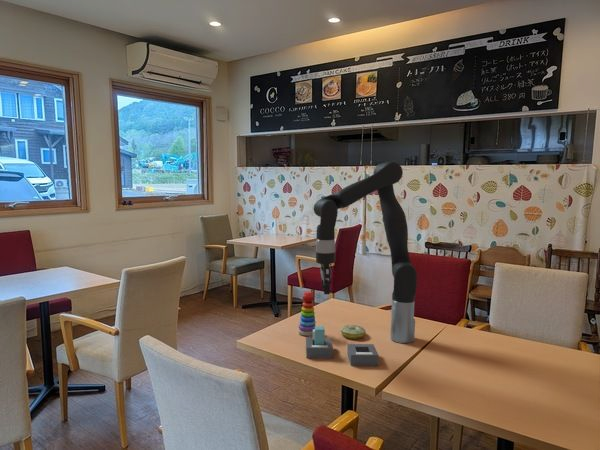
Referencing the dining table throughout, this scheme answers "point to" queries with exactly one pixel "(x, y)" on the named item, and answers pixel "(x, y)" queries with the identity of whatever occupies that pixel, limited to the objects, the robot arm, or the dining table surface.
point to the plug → (319, 335)
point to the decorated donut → (353, 331)
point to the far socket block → (319, 349)
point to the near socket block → (362, 355)
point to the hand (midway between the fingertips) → (325, 291)
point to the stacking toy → (307, 315)
